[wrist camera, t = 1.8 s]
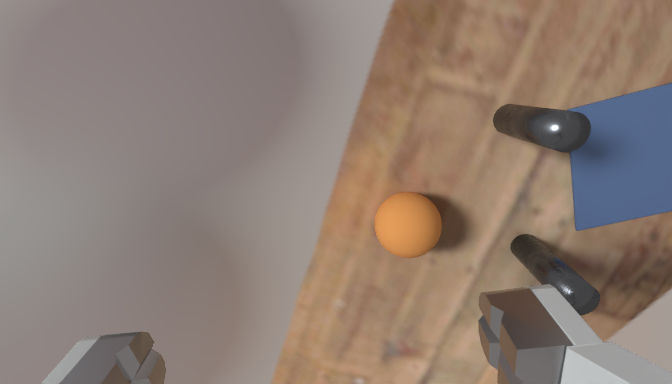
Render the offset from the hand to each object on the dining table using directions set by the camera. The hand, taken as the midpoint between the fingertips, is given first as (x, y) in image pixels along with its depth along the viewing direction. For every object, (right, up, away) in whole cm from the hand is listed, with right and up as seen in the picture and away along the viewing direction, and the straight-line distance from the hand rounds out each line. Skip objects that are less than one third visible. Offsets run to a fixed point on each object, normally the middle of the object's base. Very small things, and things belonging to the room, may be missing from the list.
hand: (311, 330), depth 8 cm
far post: (+20, -2, +25) cm, 32 cm away
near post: (+16, +10, +22) cm, 29 cm away
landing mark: (+28, +7, +22) cm, 37 cm away
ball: (+7, 0, +22) cm, 23 cm away
